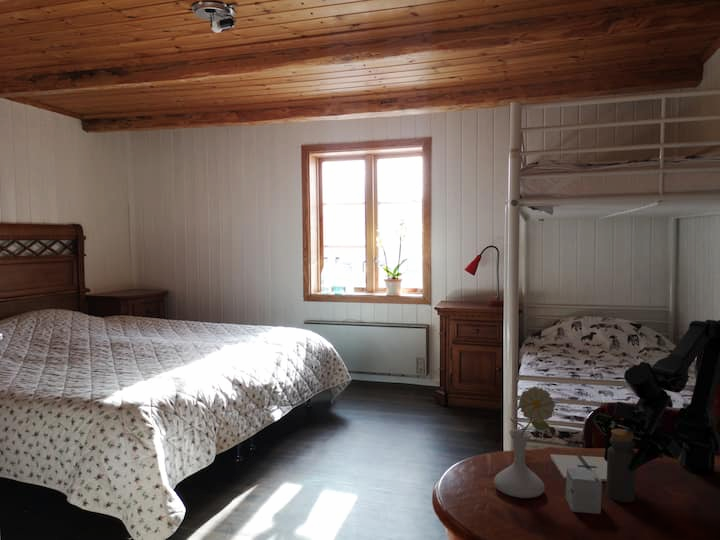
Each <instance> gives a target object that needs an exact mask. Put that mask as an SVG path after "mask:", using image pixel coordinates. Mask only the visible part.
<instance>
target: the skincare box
mask: <svg viewBox="0 0 720 540" xmlns="http://www.w3.org/2000/svg"><path fill="white" fill-rule="evenodd" d="M565 480H566V481H565V482H566V483H565V500H566V502H567V504H568V505H569V508H570V510H571V512H573V513H574V512H575V513H583V514H584V513H585V514H586V513H587V514H596V515H601V513H602V512H601V511H602V510H601V509H602V508H601V507H602V490H603V489H602V488H603V481H601V479H600V478H599V476H598V475H597V473H596V472H595V471H594V470H589V469H577V468H567V476H566V479H565Z"/></svg>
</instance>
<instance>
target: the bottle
mask: <svg viewBox="0 0 720 540" xmlns="http://www.w3.org/2000/svg"><path fill="white" fill-rule="evenodd" d="M611 433H612V437H610V443H611V444H612V446H611V447H609V448H608V456H607V482H606V490H605V491H606V496H607V497H608V498H609V499H611V500H614V501H617V502H622V503H630V502H631V503H632V502H633V501H635V494H636V473H637V472H636V471H637V469H635V470H634V471H630V470H629V466H630V463H631V461H632V460H633V458H634V456H635V454H636V453H637V452H636V451H635V450H634V449H633V448H634V447H635V445H636V442H635V440H634V438H633V437H634V433H633V432H631V431H629V430H625V429H612V430H611Z"/></svg>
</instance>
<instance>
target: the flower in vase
mask: <svg viewBox="0 0 720 540" xmlns="http://www.w3.org/2000/svg"><path fill="white" fill-rule="evenodd" d="M521 393H522V394H521V395H520V396H521V397H520V398H519V402H518V408H520V412H521V413H523V414H522V416H523V417H524V418H527V419H529V420H530V421H529V422H528V423H527V424H526V425H525V426H524V425H523V424H522V423H520V422H517V421H515V420H513V419H512V418H511V417H509V418H510V421H511V422H512V423H514V424H516V425H518V426H520V427H522V428H524V429H511V430H509V432H508V433H509V435H510V437H511V438H512V440H513V446H514V459H513V463H512V464H511V465H510V466H508V467H506V468H504V469H503V470H501V471H499V472H498V473H497V474H496V475H495V477H494V479H493V484H494V486H495V487H496V489H497V490H498V491H499V492H501V493H503V494H504V495H505V494H506V495H508V496H511V497H515V498H521V499H531V498H537V497H540V496H541V495H542V494H543V493H544V492H545V490H546V488H545V485H544V482H543V480H542V479H541V478H540V477H539V476H538V475H537V474H536V473H535V472H533V471H532V470H531V469H530V468H529V467H528V465H526V449H527V448H526V447H527V443H528V440H530V438H531V437H532V436H533V435H532V432H530V431H527V429H528V427H529V426H530V425H532V427H533V428H534V429H535V430H536V431H546V430H549V429H551V426H550V425H549V424H548V423H547V422H546V421H547V420H549V419H550V418H553V413H554V412H555V407H556V405H555V404H556V403H555V401H554V400H553V396H550V395H551V394H550V392H548V391H547V390H546V389H545V390H544V389H543V387H542V388H541V387H537V386H533V387H531V388H530V387H529V388H528V389H527V390H524V391H522V392H521Z"/></svg>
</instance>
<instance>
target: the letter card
mask: <svg viewBox="0 0 720 540" xmlns="http://www.w3.org/2000/svg"><path fill="white" fill-rule="evenodd" d="M549 457H550V458H551V460H552V462H553V463H554V465H555V467H556V466H557V467H556V468H557V470H558V471H560V472H559V473H560V475H561V476H563V477H562V478H563V479H564V480H566V476H567V468H577V469H589V470H594V471H595V472H596V473H597V475H598V476H599V478H600V479H601V481H602V482H604V481H605V482H606V483H607V461H605V459H604V456H590V455H589V456H587V455H573V454H572V455H571V454H566V455H565V454H550V455H549Z"/></svg>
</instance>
